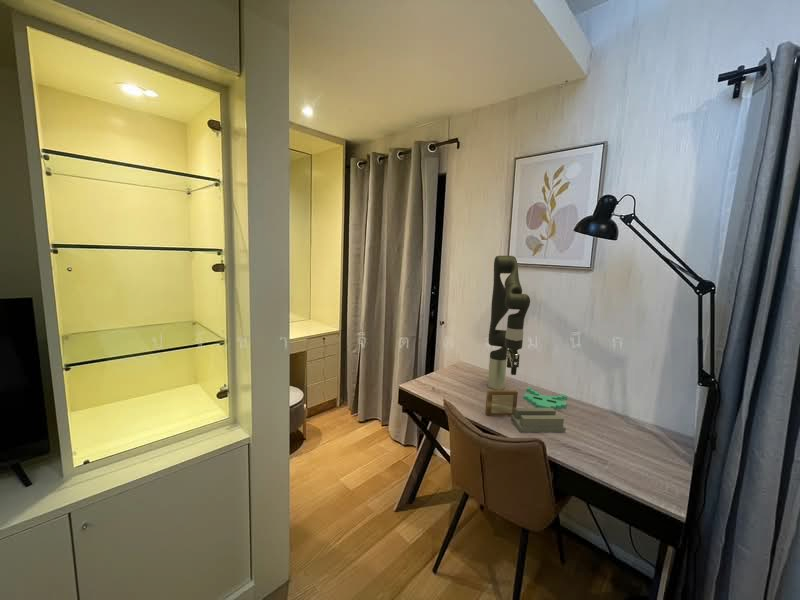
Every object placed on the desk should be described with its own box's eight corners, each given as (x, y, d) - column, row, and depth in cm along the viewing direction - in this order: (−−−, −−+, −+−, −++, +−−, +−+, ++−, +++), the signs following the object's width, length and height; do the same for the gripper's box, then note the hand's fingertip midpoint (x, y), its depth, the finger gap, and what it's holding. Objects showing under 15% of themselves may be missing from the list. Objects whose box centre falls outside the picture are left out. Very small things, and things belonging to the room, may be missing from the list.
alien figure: (527, 390, 190) (521, 405, 173) (527, 387, 190) (522, 401, 173) (566, 399, 181) (565, 415, 164) (566, 395, 181) (565, 410, 163)
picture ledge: (511, 419, 158) (512, 407, 157) (552, 419, 159) (554, 407, 158) (520, 432, 147) (521, 419, 146) (565, 432, 148) (566, 419, 147)
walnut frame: (485, 413, 163) (486, 389, 161) (513, 413, 163) (515, 389, 161) (486, 416, 160) (488, 392, 158) (515, 416, 161) (518, 392, 159)
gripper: (502, 332, 161) (499, 364, 164) (509, 341, 147) (506, 376, 150) (518, 333, 160) (515, 365, 163) (527, 342, 146) (523, 377, 149)
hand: (511, 371), depth 156 cm, fingers open, 8 cm apart
